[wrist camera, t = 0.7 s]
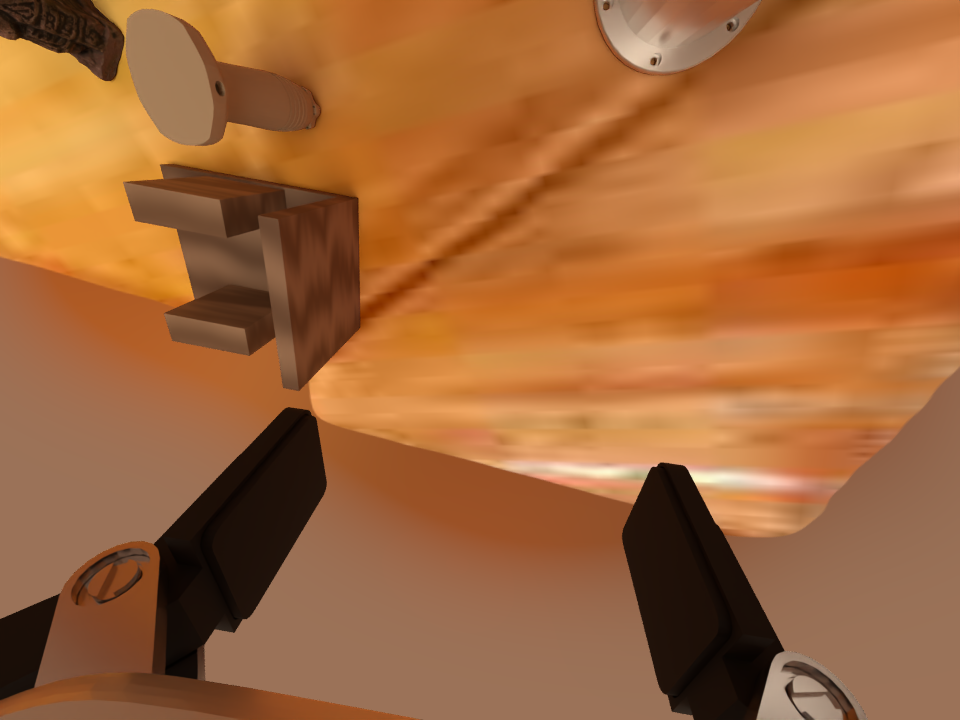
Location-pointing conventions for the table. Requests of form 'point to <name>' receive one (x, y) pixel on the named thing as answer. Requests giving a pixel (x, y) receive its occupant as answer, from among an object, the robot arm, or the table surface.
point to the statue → (65, 31)
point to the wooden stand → (259, 264)
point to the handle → (205, 85)
